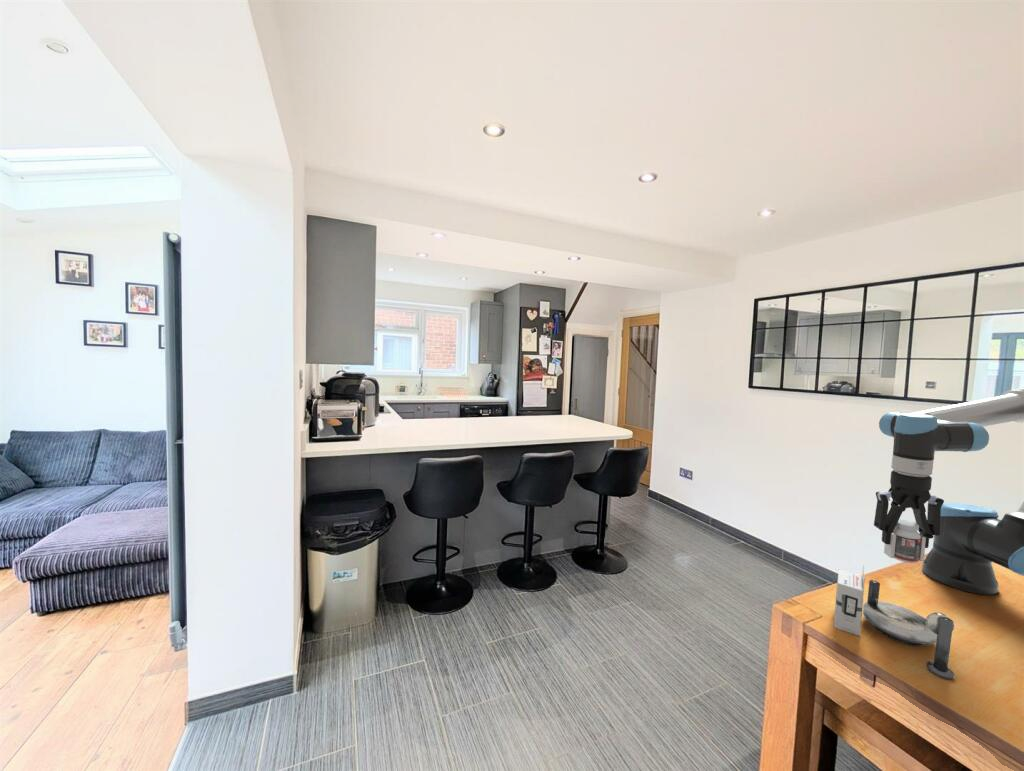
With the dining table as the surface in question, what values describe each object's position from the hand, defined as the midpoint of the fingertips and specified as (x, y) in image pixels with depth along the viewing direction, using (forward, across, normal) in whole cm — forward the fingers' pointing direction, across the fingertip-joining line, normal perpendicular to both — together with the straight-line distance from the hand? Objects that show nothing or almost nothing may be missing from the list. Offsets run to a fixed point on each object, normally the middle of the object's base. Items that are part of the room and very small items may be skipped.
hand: (903, 556), depth 104 cm
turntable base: (+14, -8, -12) cm, 20 cm away
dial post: (+14, -7, -25) cm, 29 cm away
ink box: (+14, -18, -12) cm, 26 cm away
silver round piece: (+12, -8, -12) cm, 19 cm away
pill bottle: (+1, 0, 0) cm, 1 cm away
